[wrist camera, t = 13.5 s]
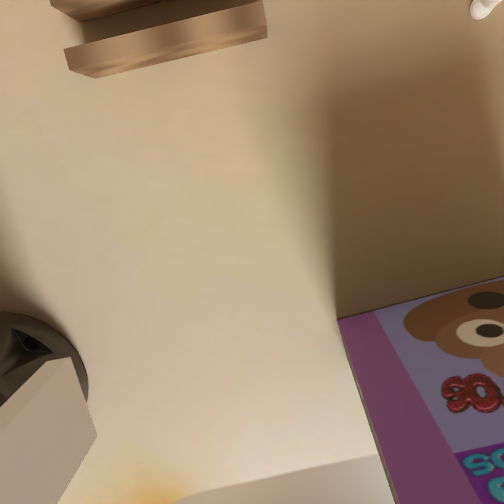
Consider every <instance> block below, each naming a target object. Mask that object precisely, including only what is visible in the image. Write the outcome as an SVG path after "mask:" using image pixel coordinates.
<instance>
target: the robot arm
mask: <svg viewBox="0 0 504 504" xmlns="http://www.w3.org/2000/svg"><path fill="white" fill-rule="evenodd" d="M87 399H88V380H87V375H86V372H85V368H84V366H83V363H82V361H81V359H80V357H79V355H78V354H77V352H76V351H75V349H74V348H73V347H72V345H71V344H70V343H69V342H68V341H67V340H66V339H65V338H64V337H63V336H62V335H61V334H60V333H59V332H57V331H56V330H55V329H53V328H52V327H50V326H49V325H47V324H45V323H43V322H41V321H39V320H37V319H35V318H32V317H29V316H25V315H21V314H16V313H0V504H57V503H58V501H59V500H60V498H61V496H62V495H63V493H64V491H65V490H66V488H67V486H68V484H69V483H70V481H71V479H72V478H73V476H74V474H75V473H76V471H77V469H78V468H79V466H80V464H81V462H82V461H83V459H84V457H85V456H86V454H87V452H88V451H89V449H90V447H91V445H92V444H93V442H94V440H95V439H96V437H97V433H96V430H95V427H94V424H93V421H92V418H91V415H90V413H89V410H88V407H87V404H86V403H87Z"/></svg>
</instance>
